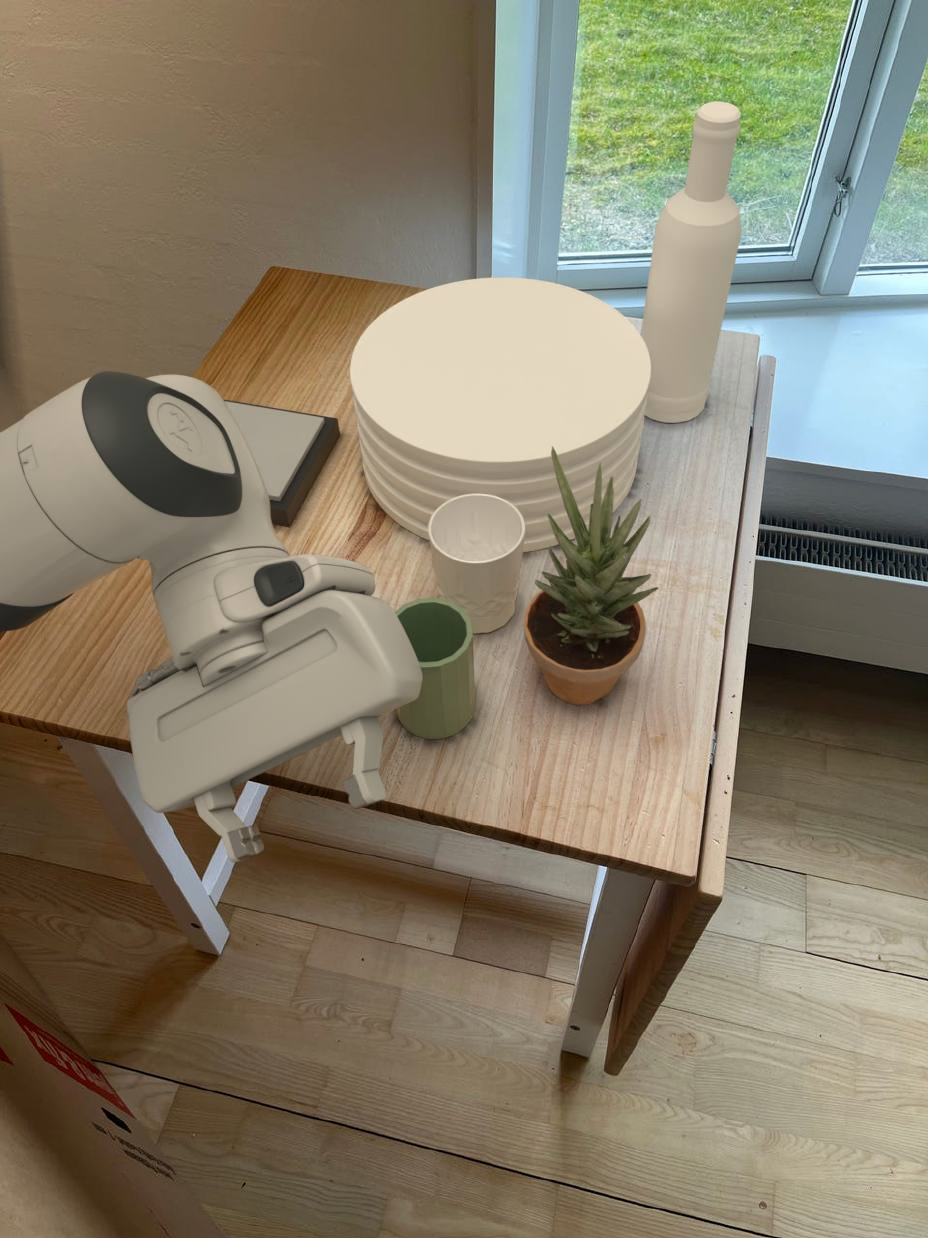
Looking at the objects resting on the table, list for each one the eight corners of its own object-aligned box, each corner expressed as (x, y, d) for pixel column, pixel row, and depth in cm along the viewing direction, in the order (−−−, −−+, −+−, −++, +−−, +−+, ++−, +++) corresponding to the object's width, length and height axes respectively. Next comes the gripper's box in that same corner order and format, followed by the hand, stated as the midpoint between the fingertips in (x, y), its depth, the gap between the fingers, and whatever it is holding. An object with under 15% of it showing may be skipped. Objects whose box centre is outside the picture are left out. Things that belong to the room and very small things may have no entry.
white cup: (420, 624, 84) (412, 547, 76) (454, 562, 88) (450, 483, 80) (504, 650, 82) (504, 573, 74) (534, 585, 86) (538, 506, 78)
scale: (289, 527, 92) (284, 505, 89) (159, 502, 94) (151, 480, 92) (340, 434, 100) (336, 412, 98) (219, 413, 103) (213, 392, 100)
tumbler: (415, 751, 76) (406, 679, 68) (383, 691, 79) (371, 616, 71) (488, 720, 77) (487, 646, 69) (453, 662, 81) (449, 586, 73)
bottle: (645, 430, 99) (691, 136, 76) (621, 384, 104) (657, 95, 80) (717, 417, 100) (784, 123, 77) (690, 372, 105) (745, 83, 81)
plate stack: (559, 344, 109) (564, 251, 100) (689, 500, 92) (710, 405, 83) (327, 411, 102) (311, 318, 93) (423, 591, 86) (415, 499, 77)
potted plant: (503, 653, 81) (505, 429, 62) (600, 616, 84) (631, 389, 64) (557, 744, 76) (578, 528, 56) (660, 702, 78) (714, 480, 59)
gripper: (85, 686, 61) (145, 897, 57) (334, 542, 53) (419, 776, 50) (156, 685, 66) (215, 877, 63) (390, 555, 59) (470, 766, 55)
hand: (307, 832), depth 56 cm, fingers open, 8 cm apart
